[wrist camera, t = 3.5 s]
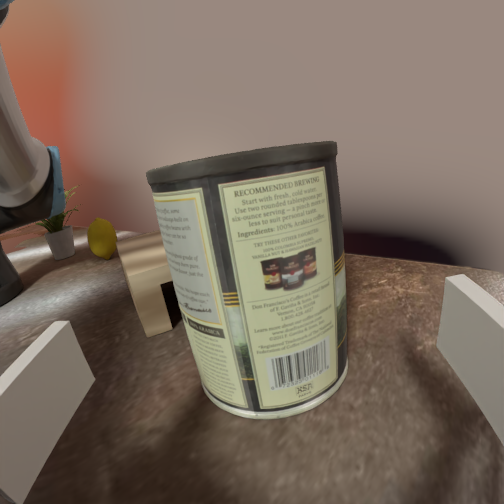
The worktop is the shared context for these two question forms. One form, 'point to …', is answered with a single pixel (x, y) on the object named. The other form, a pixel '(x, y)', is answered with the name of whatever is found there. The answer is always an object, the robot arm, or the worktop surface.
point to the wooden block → (147, 279)
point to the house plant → (59, 235)
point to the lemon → (102, 238)
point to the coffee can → (259, 274)
